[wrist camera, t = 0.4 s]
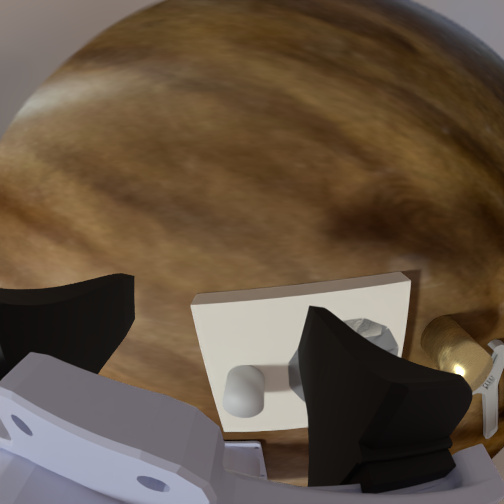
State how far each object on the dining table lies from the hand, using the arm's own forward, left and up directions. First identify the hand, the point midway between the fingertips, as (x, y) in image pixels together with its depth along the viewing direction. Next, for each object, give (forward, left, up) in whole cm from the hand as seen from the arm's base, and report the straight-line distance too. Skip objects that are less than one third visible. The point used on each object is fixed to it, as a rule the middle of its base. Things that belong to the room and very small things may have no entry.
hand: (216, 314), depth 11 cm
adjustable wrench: (-25, -30, -10) cm, 41 cm away
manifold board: (-10, -4, -10) cm, 15 cm away
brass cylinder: (-10, -17, -10) cm, 22 cm away
